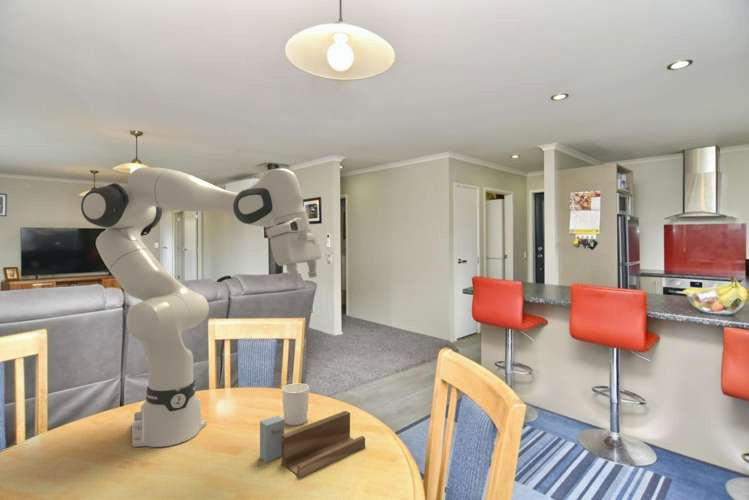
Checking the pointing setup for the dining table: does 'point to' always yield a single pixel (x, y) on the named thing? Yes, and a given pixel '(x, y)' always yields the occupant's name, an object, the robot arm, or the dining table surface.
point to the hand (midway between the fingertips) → (305, 279)
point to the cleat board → (319, 444)
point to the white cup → (295, 403)
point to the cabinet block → (271, 438)
